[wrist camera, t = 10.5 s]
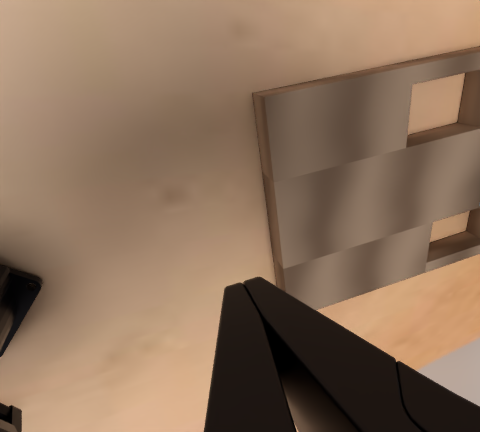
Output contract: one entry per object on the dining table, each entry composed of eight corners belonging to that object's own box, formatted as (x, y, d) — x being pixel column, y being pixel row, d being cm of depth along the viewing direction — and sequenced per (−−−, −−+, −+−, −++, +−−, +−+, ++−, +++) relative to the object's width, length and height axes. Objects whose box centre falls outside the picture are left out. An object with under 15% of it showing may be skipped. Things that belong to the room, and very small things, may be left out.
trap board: (278, 302, 26) (322, 376, 20) (252, 93, 18) (309, 111, 12) (517, 222, 30) (612, 264, 24) (576, 26, 23) (736, 15, 17)
